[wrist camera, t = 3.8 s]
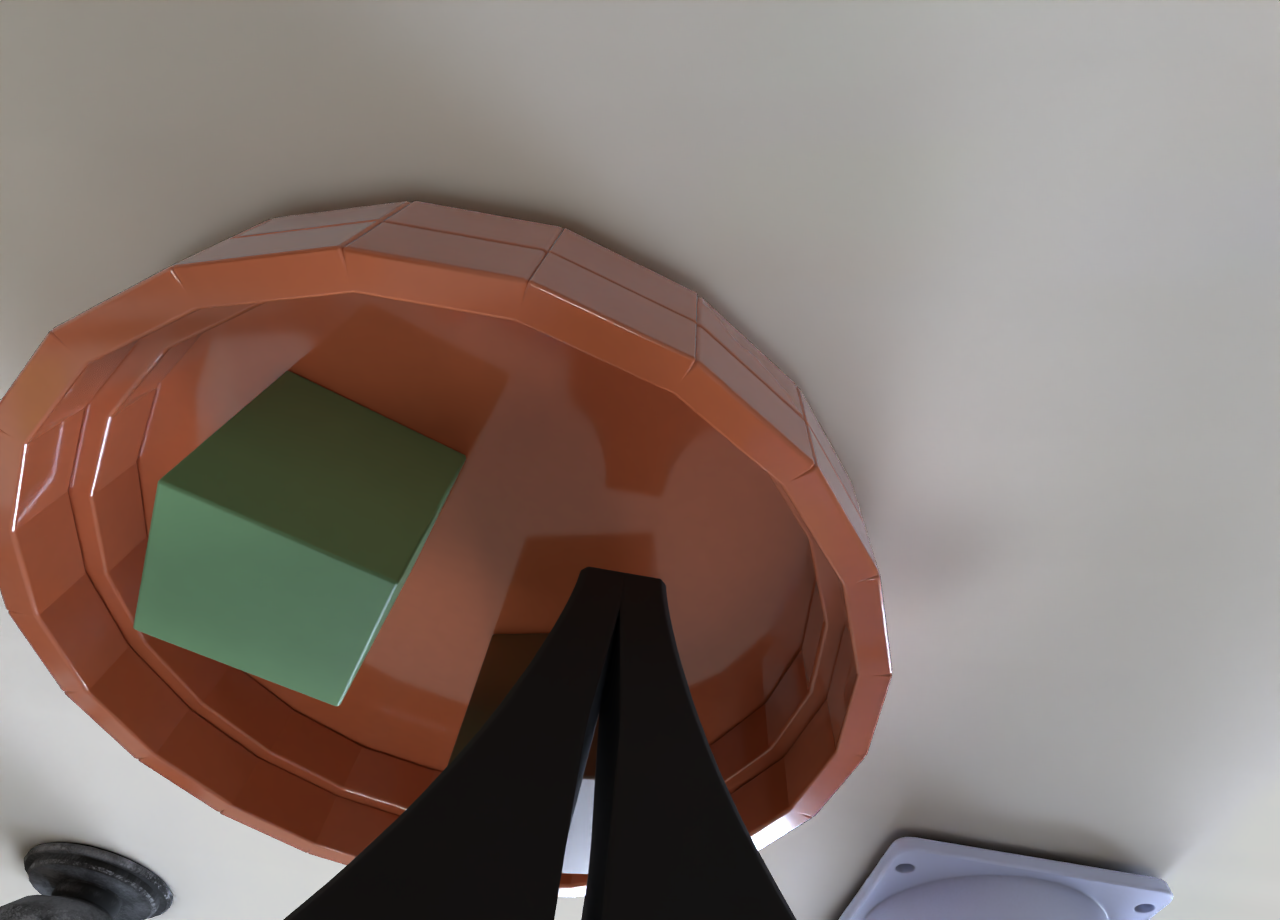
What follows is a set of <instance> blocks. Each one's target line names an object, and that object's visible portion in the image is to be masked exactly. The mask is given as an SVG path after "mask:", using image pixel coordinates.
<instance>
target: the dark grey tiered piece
mask: <svg viewBox="0 0 1280 920" xmlns="http://www.w3.org/2000/svg"><path fill="white" fill-rule="evenodd" d="M24 866H25V870H26V872H27V873H28V875H29V881H30V882H31V884H32V885H33V887H34V888H35V889H36V890H37V891H38V892H39V893H40V894H42V895H32V896H26V897H24V898H21V899H19V900H16V901H14V902H11V903H9V904H6V905H4V906H1V907H0V920H144V919H147V918H152V917H155V916H158V915H161V914H163V913H164V912H165V911H167V910H168V909H169V908H170V906H171V904H172V899H173V896H172V894H171V892H170V889H169V888H168V887H167V886H166V884H165V883H164V882H163V881H162V880H161V879H160V878H158V877H157V876H156V875H154V874H153V873H152V872H150V871H149V870H147V869H146V868H144V867H142V866H140V865H138V864H136V863H135V862H133V861H131V860H128V859H126V858H123V857H121V856H119V855H116V854H114V853H111V852H107V851H104V850H100V849H97V848H94V847H89V846H83V845H78V844H72V843H48V844H41V845H39V846H36V847H34V848H32V849H31V850H30V851H29V852H28V854H27V855H26V856H25V858H24Z"/></svg>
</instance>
